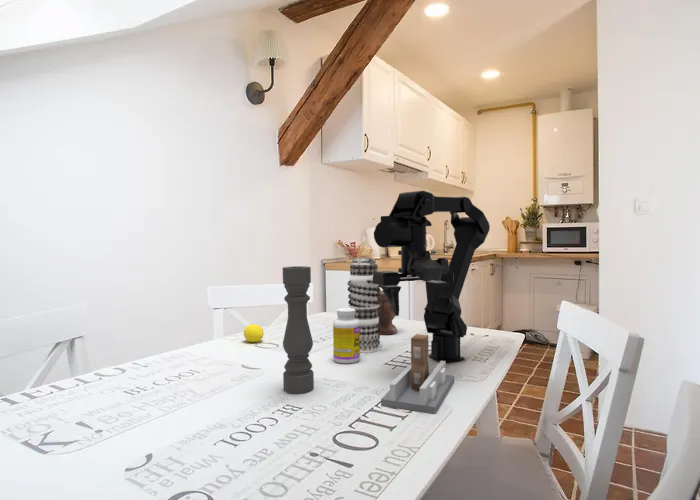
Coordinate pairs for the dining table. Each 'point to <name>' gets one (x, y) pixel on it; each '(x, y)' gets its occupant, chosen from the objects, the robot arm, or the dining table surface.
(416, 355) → the brown wooden block
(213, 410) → the dining table surface
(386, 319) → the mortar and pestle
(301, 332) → the candle holder
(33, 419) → the dining table surface
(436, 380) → the grey long channel piece
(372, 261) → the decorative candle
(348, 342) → the supplement bottle
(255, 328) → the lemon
